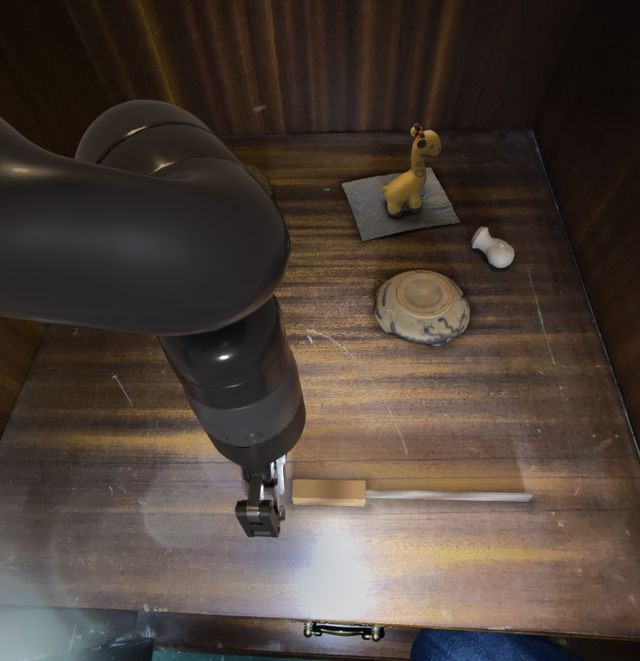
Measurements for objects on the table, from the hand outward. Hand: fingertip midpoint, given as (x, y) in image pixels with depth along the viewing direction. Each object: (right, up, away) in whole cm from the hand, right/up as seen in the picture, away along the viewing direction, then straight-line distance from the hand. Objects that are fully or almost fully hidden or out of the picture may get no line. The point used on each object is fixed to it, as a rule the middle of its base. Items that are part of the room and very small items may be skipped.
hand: (277, 470), depth 49 cm
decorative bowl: (+20, +17, +33) cm, 42 cm away
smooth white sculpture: (+33, +26, +39) cm, 57 cm away
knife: (+15, -8, +15) cm, 23 cm away
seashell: (-8, +39, +50) cm, 64 cm away
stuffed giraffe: (+19, +37, +47) cm, 63 cm away
